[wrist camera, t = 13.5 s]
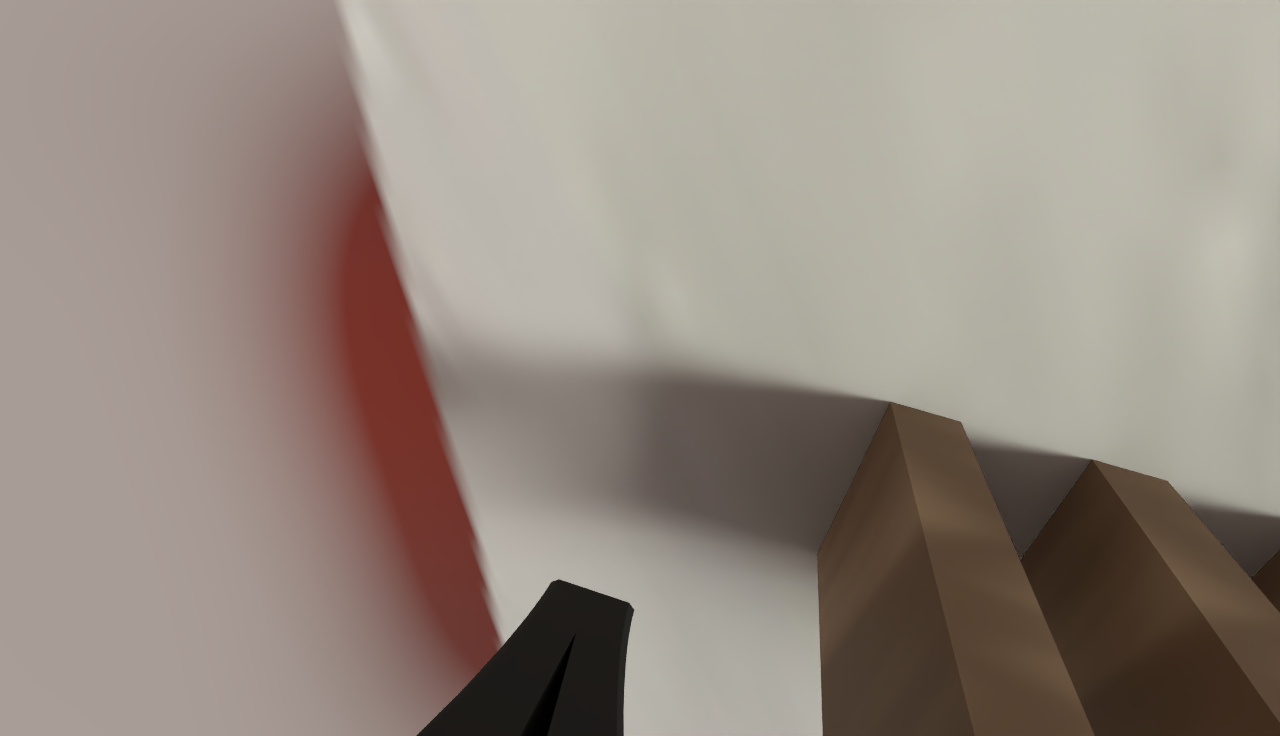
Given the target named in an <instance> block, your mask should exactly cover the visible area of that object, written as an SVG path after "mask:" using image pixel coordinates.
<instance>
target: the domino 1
mask: <svg viewBox="0 0 1280 736" xmlns="http://www.w3.org/2000/svg"><path fill="white" fill-rule="evenodd" d="M817 560H818V592H819V625H820V657H821V689H822V722H823V736H1095V735H1094V733H1093V730H1092V728H1091V726H1090V723H1089V721H1088V719H1087V716H1086V714H1085V712H1084V709H1083V707H1082V705H1081V702H1080V700H1079V698H1078V695H1077V693H1076V691H1075V688H1074V686H1073V683H1072V681H1071V679H1070V676H1069V674H1068V672H1067V669H1066V667H1065V665H1064V662H1063V660H1062V658H1061V655H1060V653H1059V651H1058V648H1057V646H1056V644H1055V641H1054V639H1053V637H1052V634H1051V632H1050V630H1049V627H1048V625H1047V623H1046V620H1045V618H1044V616H1043V613H1042V611H1041V609H1040V606H1039V604H1038V601H1037V599H1036V597H1035V594H1034V592H1033V590H1032V587H1031V585H1030V583H1029V580H1028V578H1027V576H1026V573H1025V571H1024V569H1023V566H1022V564H1021V562H1020V559H1019V557H1018V555H1017V552H1016V550H1015V548H1014V545H1013V543H1012V541H1011V538H1010V536H1009V534H1008V531H1007V529H1006V526H1005V524H1004V522H1003V519H1002V517H1001V515H1000V512H999V510H998V508H997V505H996V503H995V501H994V498H993V496H992V494H991V491H990V489H989V487H988V484H987V482H986V480H985V477H984V475H983V473H982V470H981V468H980V466H979V463H978V461H977V459H976V456H975V454H974V452H973V449H972V447H971V444H970V442H969V440H968V437H967V435H966V433H965V430H964V428H963V426H962V423H961V422H959V421H955V420H952V419H948V418H945V417H941V416H938V415H934V414H931V413H927V412H924V411H921V410H917V409H914V408H910V407H907V406H903V405H900V404H896V403H893V402H890V404H889V406H888V408H887V411H886V413H885V415H884V417H883V419H882V421H881V423H880V425H879V427H878V429H877V431H876V433H875V436H874V438H873V440H872V442H871V444H870V446H869V448H868V450H867V452H866V454H865V456H864V458H863V461H862V463H861V465H860V467H859V469H858V471H857V473H856V475H855V477H854V479H853V481H852V483H851V486H850V488H849V490H848V492H847V494H846V496H845V498H844V500H843V502H842V504H841V506H840V508H839V511H838V513H837V515H836V517H835V519H834V521H833V523H832V525H831V527H830V529H829V531H828V533H827V536H826V538H825V540H824V542H823V544H822V546H821V548H820V550H819V552H818V554H817Z"/></svg>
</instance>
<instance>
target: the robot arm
mask: <svg viewBox="0 0 1280 736" xmlns="http://www.w3.org/2000/svg"><path fill="white" fill-rule="evenodd" d="M633 613H634V609H633V608H632V606H631V605H630V603H628V602H625V601H622V600H619V599H616V598H613V597H610V596H607V595H604V594H601V593H598V592H595V591H592V590H589V589H586V588H583V587H580V586H577V585H574V584H571V583H568V582H565V581H562V580H556V581H553V582H551V584H550V585H549V587H548V588H547V590H546V591H545V593H544V594H543V596H542V597H541V599H540V600H539V601H538V603H537V604H536V605H535V607H534V608H533V609H532V611H531V612H530V613H529V615H528V616H527V617H526V618H525V620H524V621H523V622H522V623H521V625H520V626H519V627H518V628H517V630H516V631H515V632H514V633H513V634H512V635H511V637H510V638H509V639H508V640H507V641H506V643H505V644H504V645H503V646H502V647H501V648H500V650H499V651H498V652H497V653H496V654H495V655H494V656H493V657H492V658H491V659H490V661H489V662H488V663H487V664H486V665H485V666H484V667H483V668H482V669H481V671H480V672H479V673H478V674H477V675H476V676H475V677H474V678H473V679H472V680H471V681H470V683H469V684H468V685H467V686H466V687H465V688H464V689H463V690H462V691H461V692H460V693H459V694H458V695H457V696H456V697H455V698H454V699H453V700H452V701H451V702H450V703H449V704H448V705H447V706H446V707H445V708H444V709H443V710H442V711H441V712H440V713H439V714H438V715H437V716H436V717H435V718H434V719H433V720H432V721H431V722H430V723H429V724H428V725H427V726H426V727H425V728H424V729H423V730H422V731H421V732H420V733H419V734H418V735H417V736H624V725H623V707H624V681H625V665H626V654H627V645H628V637H629V632H630V626H631V621H632V616H633Z"/></svg>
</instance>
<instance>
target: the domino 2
mask: <svg viewBox="0 0 1280 736" xmlns="http://www.w3.org/2000/svg"><path fill="white" fill-rule="evenodd" d="M1020 562H1021V564H1022V566H1023V569H1024V571H1025V573H1026V576H1027V578H1028V580H1029V583H1030V585H1031V587H1032V590H1033V592H1034V594H1035V597H1036V599H1037V601H1038V604H1039V606H1040V609H1041V611H1042V613H1043V616H1044V618H1045V620H1046V623H1047V625H1048V627H1049V630H1050V632H1051V634H1052V637H1053V639H1054V641H1055V644H1056V646H1057V648H1058V651H1059V653H1060V655H1061V658H1062V660H1063V662H1064V665H1065V667H1066V669H1067V672H1068V674H1069V676H1070V679H1071V681H1072V683H1073V686H1074V688H1075V691H1076V693H1077V695H1078V698H1079V700H1080V702H1081V705H1082V707H1083V709H1084V712H1085V714H1086V716H1087V719H1088V721H1089V723H1090V726H1091V728H1092V730H1093V733H1094V735H1095V736H1280V613H1279V611H1278V610H1277V609H1276V608H1275V607H1274V606H1273V604H1272V603H1271V602H1270V601H1269V600H1268V599H1267V597H1266V596H1265V595H1264V594H1263V593H1262V591H1261V590H1260V589H1259V588H1258V587H1257V586H1256V584H1255V583H1254V582H1253V581H1252V580H1251V579H1250V577H1249V576H1248V575H1247V574H1246V573H1245V571H1244V570H1243V569H1242V568H1241V567H1240V566H1239V564H1238V563H1237V562H1236V561H1235V560H1234V559H1233V557H1232V556H1231V555H1230V554H1229V553H1228V552H1227V550H1226V549H1225V548H1224V547H1223V546H1222V544H1221V543H1220V542H1219V541H1218V540H1217V539H1216V537H1215V536H1214V535H1213V534H1212V533H1211V532H1210V530H1209V529H1208V528H1207V527H1206V526H1205V525H1204V523H1203V522H1202V521H1201V520H1200V519H1199V517H1198V516H1197V515H1196V514H1195V513H1194V512H1193V510H1192V509H1191V508H1190V507H1189V506H1188V505H1187V503H1186V502H1185V501H1184V500H1183V499H1182V497H1181V496H1180V495H1179V494H1178V493H1177V492H1176V490H1175V489H1174V488H1173V487H1172V486H1171V485H1170V483H1169V482H1168V481H1165V480H1162V479H1158V478H1155V477H1151V476H1148V475H1144V474H1141V473H1137V472H1134V471H1130V470H1127V469H1123V468H1120V467H1116V466H1113V465H1109V464H1106V463H1102V462H1099V461H1095V460H1092V461H1091V463H1090V464H1089V465H1088V467H1087V468H1086V470H1085V471H1084V472H1083V474H1082V475H1081V477H1080V478H1079V479H1078V481H1077V482H1076V484H1075V485H1074V486H1073V488H1072V489H1071V491H1070V492H1069V493H1068V495H1067V496H1066V498H1065V499H1064V500H1063V502H1062V503H1061V505H1060V506H1059V507H1058V509H1057V510H1056V512H1055V513H1054V514H1053V516H1052V517H1051V519H1050V520H1049V521H1048V523H1047V524H1046V526H1045V527H1044V528H1043V530H1042V531H1041V533H1040V534H1039V536H1038V537H1037V538H1036V540H1035V541H1034V543H1033V544H1032V545H1031V547H1030V548H1029V550H1028V551H1027V552H1026V554H1025V555H1024V557H1023V558H1022V559H1021V561H1020Z"/></svg>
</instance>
